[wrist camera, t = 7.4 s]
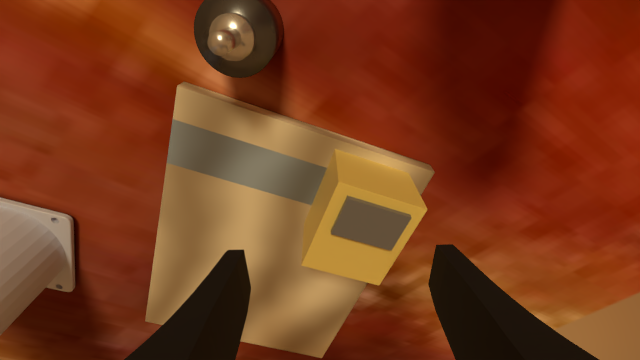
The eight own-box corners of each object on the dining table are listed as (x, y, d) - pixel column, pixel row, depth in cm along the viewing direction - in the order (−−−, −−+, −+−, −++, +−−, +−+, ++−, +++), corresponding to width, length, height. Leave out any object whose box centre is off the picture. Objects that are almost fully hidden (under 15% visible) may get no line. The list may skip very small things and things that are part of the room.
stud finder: (304, 223, 22) (301, 269, 18) (334, 148, 19) (339, 184, 16) (369, 242, 23) (379, 289, 19) (408, 173, 20) (429, 212, 16)
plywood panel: (150, 311, 28) (145, 321, 27) (184, 81, 18) (177, 85, 17) (321, 347, 31) (321, 358, 30) (429, 164, 21) (434, 172, 20)
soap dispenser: (214, 49, 18) (164, 73, 12) (226, -20, 16) (176, -30, 10) (273, 70, 18) (253, 103, 12) (291, 6, 17) (278, 11, 11)
